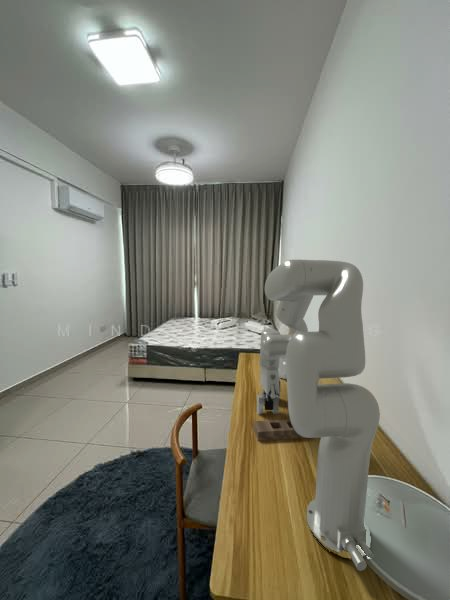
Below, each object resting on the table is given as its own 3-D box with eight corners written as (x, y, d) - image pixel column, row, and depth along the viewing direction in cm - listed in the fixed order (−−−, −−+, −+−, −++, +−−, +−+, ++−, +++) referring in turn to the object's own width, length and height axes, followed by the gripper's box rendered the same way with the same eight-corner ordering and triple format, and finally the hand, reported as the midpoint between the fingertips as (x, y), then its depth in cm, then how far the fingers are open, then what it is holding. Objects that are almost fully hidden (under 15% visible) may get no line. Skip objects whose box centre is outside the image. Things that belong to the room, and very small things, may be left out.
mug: (275, 372, 139) (276, 353, 138) (292, 374, 137) (293, 355, 136) (274, 381, 127) (275, 360, 126) (292, 383, 125) (293, 362, 124)
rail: (307, 426, 89) (308, 418, 88) (315, 437, 83) (316, 428, 82) (253, 429, 86) (253, 421, 86) (257, 440, 80) (258, 431, 80)
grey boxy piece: (275, 410, 99) (276, 393, 98) (278, 414, 96) (279, 397, 95) (256, 411, 98) (257, 394, 97) (258, 415, 95) (259, 397, 94)
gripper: (286, 369, 87) (284, 418, 89) (272, 355, 104) (270, 396, 105) (266, 370, 87) (264, 419, 88) (255, 355, 103) (253, 397, 104)
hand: (267, 406), depth 97 cm, fingers closed on grey boxy piece, 3 cm apart
